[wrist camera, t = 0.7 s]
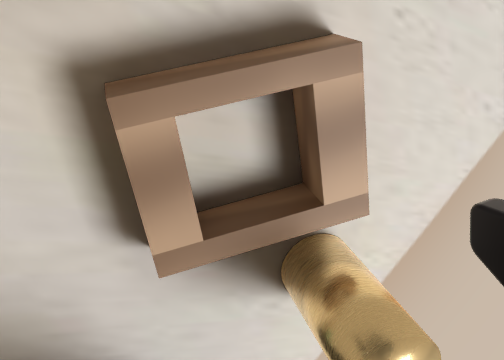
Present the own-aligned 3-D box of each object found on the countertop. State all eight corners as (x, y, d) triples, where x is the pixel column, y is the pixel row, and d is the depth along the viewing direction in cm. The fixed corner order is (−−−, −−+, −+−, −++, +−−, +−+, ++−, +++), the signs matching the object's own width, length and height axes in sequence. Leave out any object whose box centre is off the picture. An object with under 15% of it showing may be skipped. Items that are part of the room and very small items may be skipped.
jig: (344, 192, 24) (369, 214, 22) (153, 248, 22) (159, 278, 20) (334, 33, 21) (361, 42, 19) (104, 83, 19) (105, 98, 17)
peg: (350, 283, 27) (439, 393, 20) (285, 305, 26) (354, 427, 19) (346, 224, 25) (442, 323, 18) (276, 246, 25) (349, 357, 18)
